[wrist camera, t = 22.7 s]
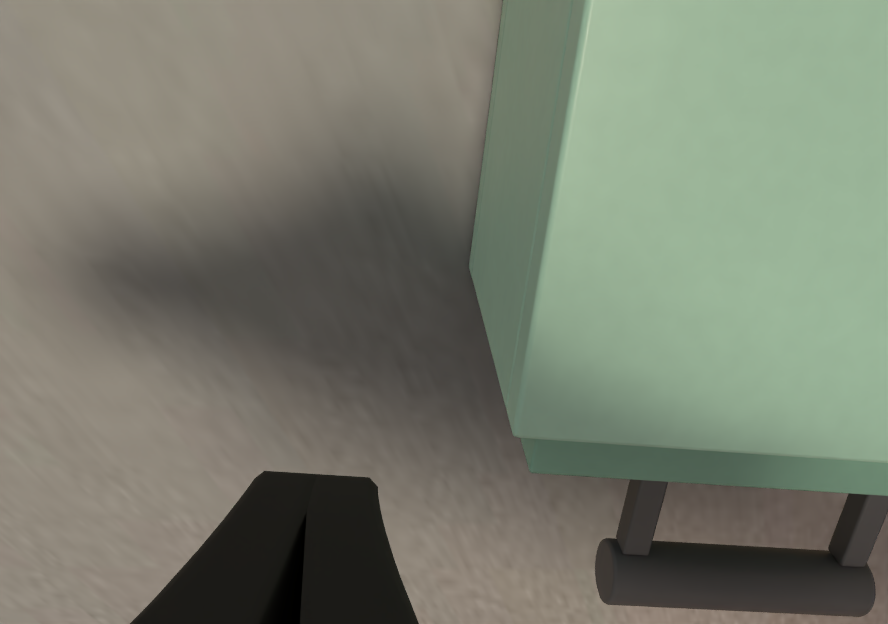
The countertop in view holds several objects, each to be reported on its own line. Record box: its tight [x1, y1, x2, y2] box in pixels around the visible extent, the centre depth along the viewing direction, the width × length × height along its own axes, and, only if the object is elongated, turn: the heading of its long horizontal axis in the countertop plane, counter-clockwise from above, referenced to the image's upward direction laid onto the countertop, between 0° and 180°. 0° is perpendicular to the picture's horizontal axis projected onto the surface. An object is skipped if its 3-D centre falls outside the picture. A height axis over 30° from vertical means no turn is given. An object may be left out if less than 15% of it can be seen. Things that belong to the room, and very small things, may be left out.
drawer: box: [521, 438, 888, 617], centre depth 14 cm, size 17×11×6 cm, turn 174°
